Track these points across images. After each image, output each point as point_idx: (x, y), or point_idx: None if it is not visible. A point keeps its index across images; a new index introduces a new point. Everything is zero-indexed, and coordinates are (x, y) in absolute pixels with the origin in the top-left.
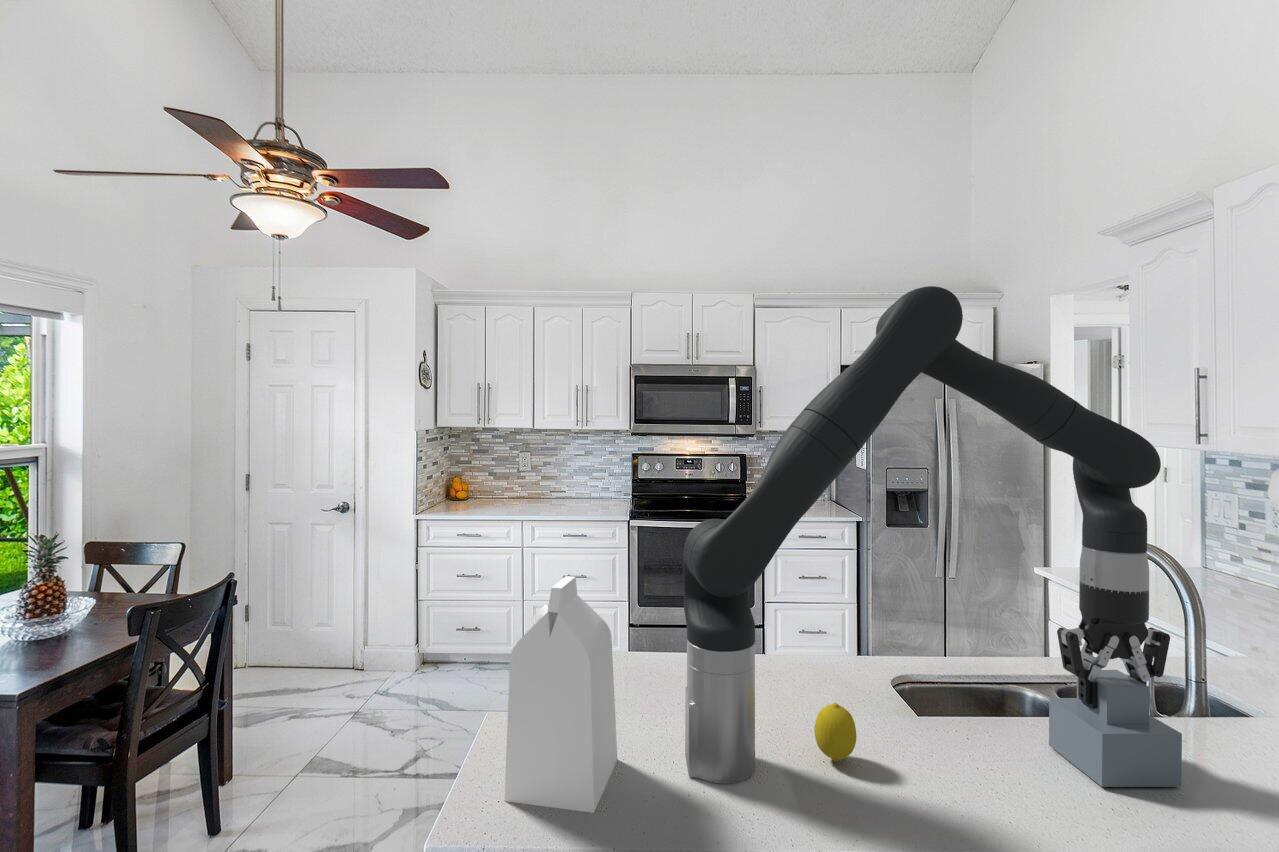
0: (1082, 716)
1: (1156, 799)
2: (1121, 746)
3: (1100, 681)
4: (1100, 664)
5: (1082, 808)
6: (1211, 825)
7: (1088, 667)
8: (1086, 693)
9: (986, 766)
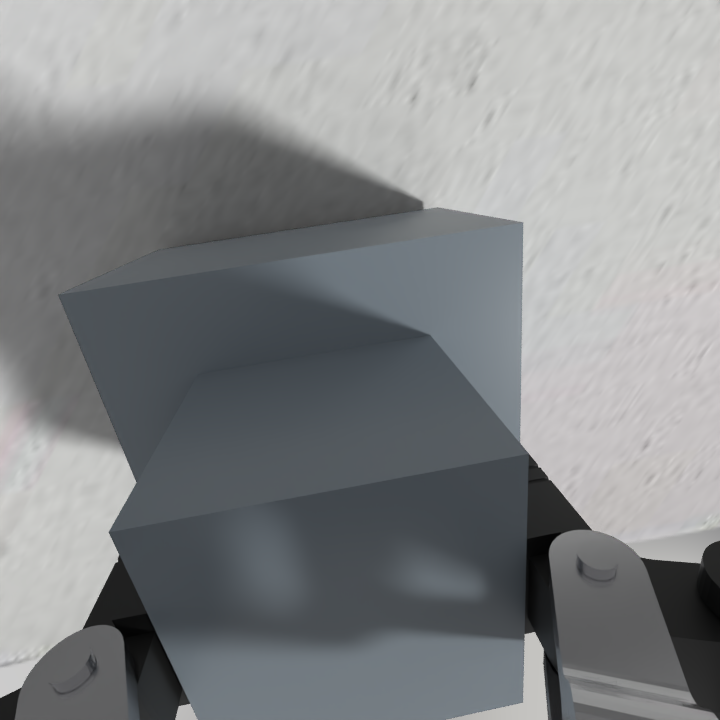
0: (492, 407)
1: (283, 170)
2: (401, 231)
3: (503, 551)
4: (665, 709)
5: (568, 76)
6: (177, 4)
7: (558, 705)
8: (543, 478)
9: (696, 299)
